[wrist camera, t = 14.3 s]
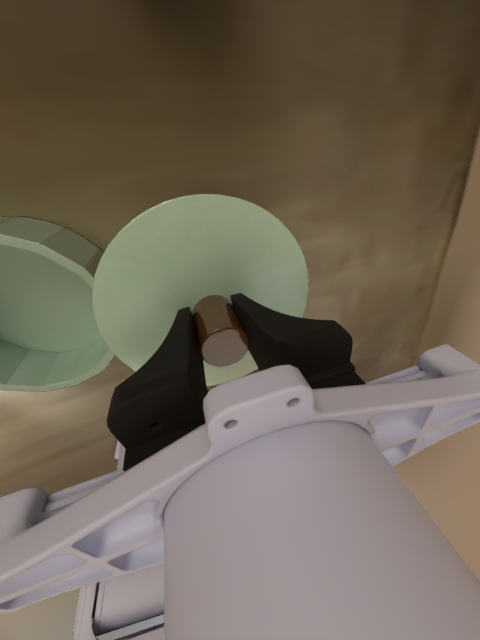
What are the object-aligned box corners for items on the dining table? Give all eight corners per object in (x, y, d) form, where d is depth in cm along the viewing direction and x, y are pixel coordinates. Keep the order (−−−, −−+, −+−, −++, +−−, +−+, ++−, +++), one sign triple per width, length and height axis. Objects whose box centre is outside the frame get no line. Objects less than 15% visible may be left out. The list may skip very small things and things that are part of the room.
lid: (334, 236, 15) (390, 260, 11) (258, 381, 20) (279, 429, 16) (110, 143, 10) (79, 131, 6) (88, 369, 15) (65, 434, 11)
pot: (138, 245, 18) (132, 265, 15) (119, 359, 23) (112, 394, 20) (-78, 188, 14) (-160, 196, 10) (-43, 345, 19) (-90, 388, 15)
